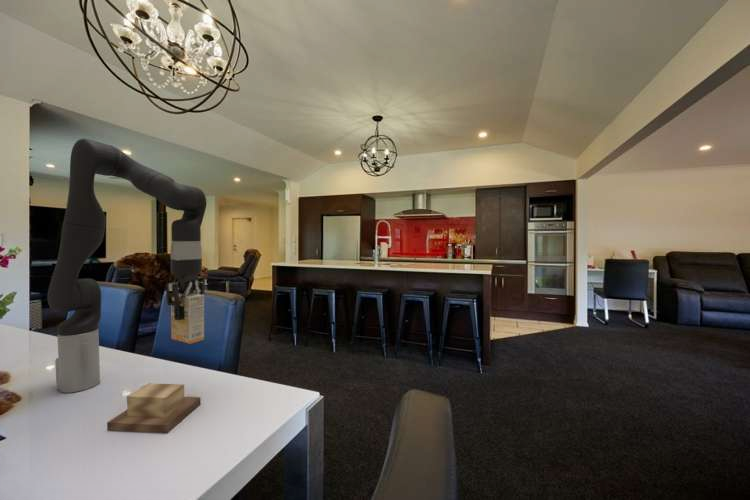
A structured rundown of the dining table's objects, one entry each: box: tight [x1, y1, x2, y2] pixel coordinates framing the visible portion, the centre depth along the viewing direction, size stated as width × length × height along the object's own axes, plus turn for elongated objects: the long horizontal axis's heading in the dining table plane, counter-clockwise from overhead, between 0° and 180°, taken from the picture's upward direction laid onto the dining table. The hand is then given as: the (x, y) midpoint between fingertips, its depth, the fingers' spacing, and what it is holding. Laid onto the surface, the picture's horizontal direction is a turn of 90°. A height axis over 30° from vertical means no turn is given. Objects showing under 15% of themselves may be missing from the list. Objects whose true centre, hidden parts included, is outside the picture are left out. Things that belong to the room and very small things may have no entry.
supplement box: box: [170, 293, 205, 345], centre depth 89 cm, size 8×5×13 cm, turn 64°
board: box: [106, 396, 201, 434], centre depth 82 cm, size 15×13×2 cm
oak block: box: [126, 382, 186, 418], centre depth 82 cm, size 10×7×5 cm
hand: (187, 316), depth 89 cm, fingers closed on supplement box, 6 cm apart
